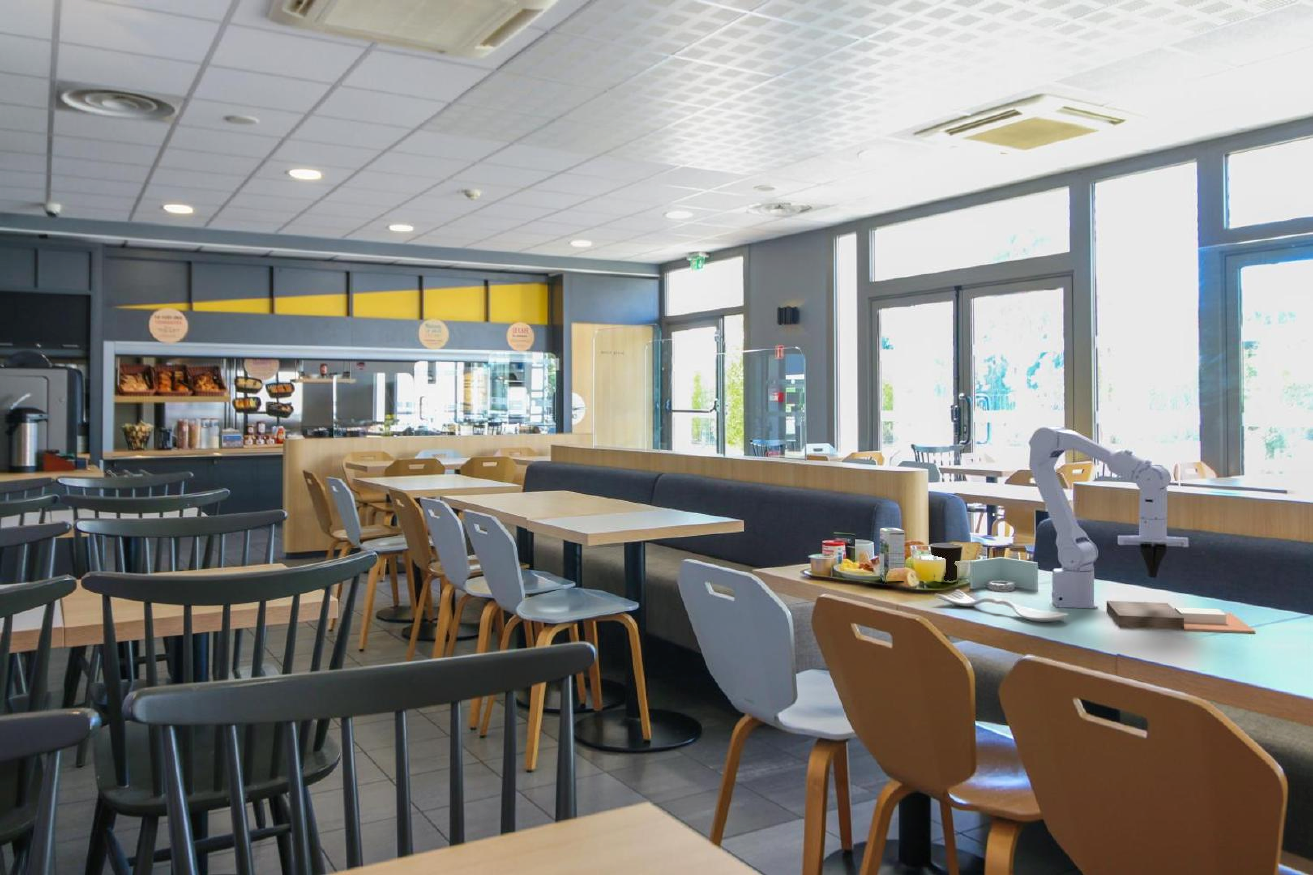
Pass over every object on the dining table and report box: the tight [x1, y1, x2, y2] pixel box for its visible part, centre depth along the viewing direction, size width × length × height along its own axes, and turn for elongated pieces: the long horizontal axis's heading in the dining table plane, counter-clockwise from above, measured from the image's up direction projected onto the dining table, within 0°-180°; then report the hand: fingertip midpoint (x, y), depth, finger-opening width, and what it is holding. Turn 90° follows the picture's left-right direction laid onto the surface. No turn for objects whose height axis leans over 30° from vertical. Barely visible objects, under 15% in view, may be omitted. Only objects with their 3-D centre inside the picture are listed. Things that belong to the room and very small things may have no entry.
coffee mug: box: [929, 542, 963, 581], centre depth 276 cm, size 12×9×10 cm
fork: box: [935, 588, 1069, 623], centre depth 234 cm, size 9×32×4 cm, turn 37°
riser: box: [1106, 600, 1184, 630], centre depth 225 cm, size 13×16×2 cm
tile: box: [1174, 607, 1226, 624], centre depth 222 cm, size 9×6×2 cm, turn 74°
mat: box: [1183, 612, 1256, 634], centre depth 221 cm, size 14×18×1 cm
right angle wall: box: [969, 556, 1039, 593], centre depth 262 cm, size 12×12×8 cm
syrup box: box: [878, 527, 906, 583], centre depth 277 cm, size 6×6×14 cm
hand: (1152, 576), depth 229 cm, fingers closed
